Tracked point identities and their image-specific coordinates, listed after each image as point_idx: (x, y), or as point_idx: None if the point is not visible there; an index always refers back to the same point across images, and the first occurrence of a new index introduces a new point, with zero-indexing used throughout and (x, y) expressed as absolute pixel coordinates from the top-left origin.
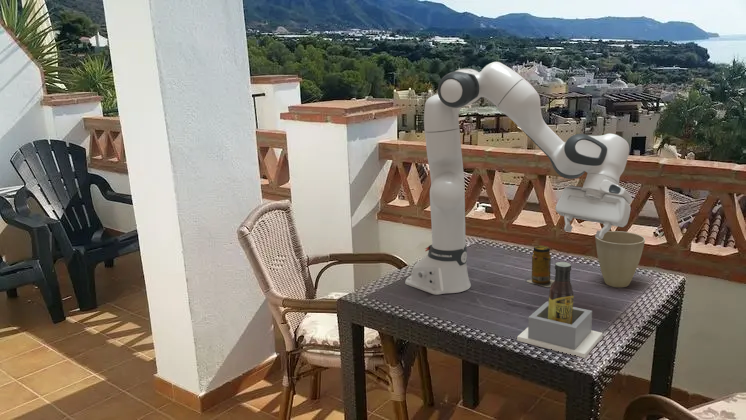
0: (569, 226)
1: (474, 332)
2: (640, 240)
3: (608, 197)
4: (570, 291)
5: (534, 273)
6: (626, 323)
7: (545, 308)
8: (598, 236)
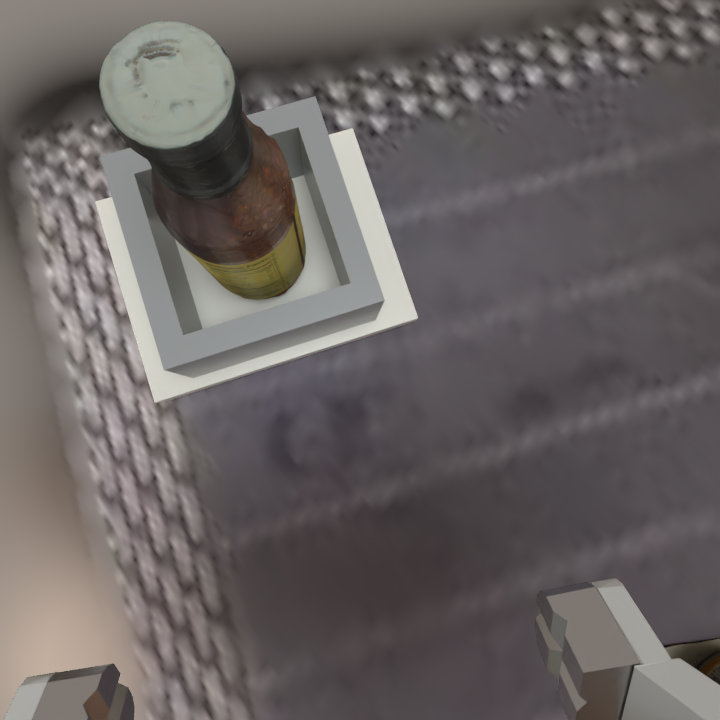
0: (574, 642)
1: (499, 73)
2: None
3: None
4: (151, 178)
5: None
6: (168, 592)
7: (332, 229)
8: (57, 674)
